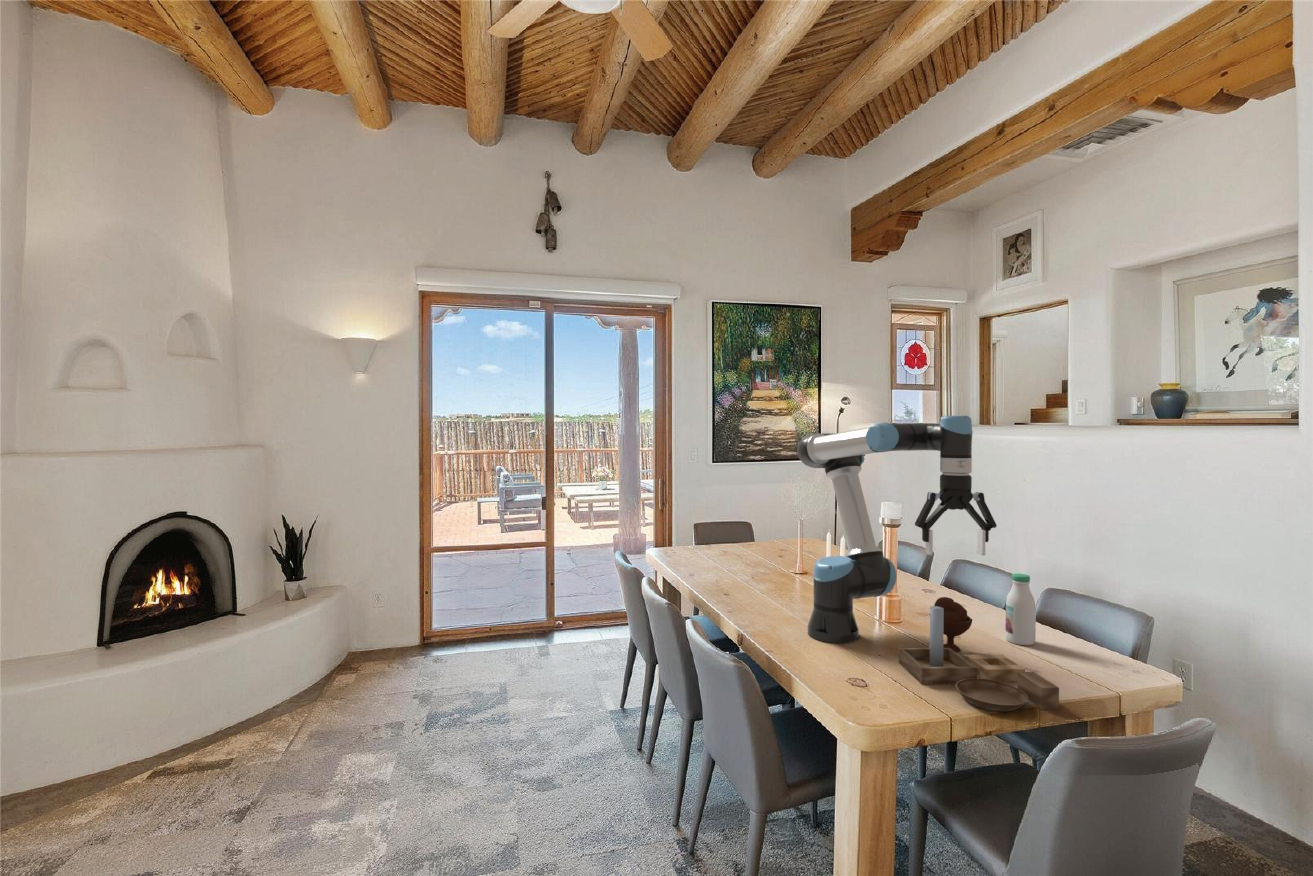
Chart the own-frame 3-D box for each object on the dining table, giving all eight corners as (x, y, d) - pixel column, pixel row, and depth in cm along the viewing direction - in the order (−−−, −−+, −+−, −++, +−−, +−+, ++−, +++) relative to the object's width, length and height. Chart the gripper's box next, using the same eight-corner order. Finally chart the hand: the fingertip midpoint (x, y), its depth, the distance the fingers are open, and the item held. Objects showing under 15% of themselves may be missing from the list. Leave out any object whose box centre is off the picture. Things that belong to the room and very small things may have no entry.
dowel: (933, 671, 159) (933, 609, 158) (927, 666, 162) (927, 606, 161) (945, 671, 159) (945, 609, 158) (939, 666, 162) (939, 606, 162)
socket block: (985, 681, 155) (986, 669, 155) (965, 665, 165) (965, 654, 165) (1025, 681, 155) (1025, 669, 155) (1002, 665, 165) (1002, 654, 165)
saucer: (953, 684, 154) (953, 673, 154) (1021, 694, 148) (1021, 682, 148) (958, 710, 140) (958, 698, 140) (1033, 721, 134) (1033, 709, 134)
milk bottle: (1038, 641, 184) (1038, 574, 183) (1032, 648, 178) (1032, 579, 178) (1009, 635, 189) (1009, 570, 188) (1002, 641, 183) (1002, 575, 183)
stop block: (1041, 709, 140) (1041, 687, 139) (1017, 692, 149) (1017, 671, 148) (1058, 709, 140) (1058, 687, 140) (1033, 692, 149) (1033, 671, 149)
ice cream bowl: (955, 659, 170) (955, 605, 169) (921, 646, 180) (921, 595, 179) (980, 652, 174) (980, 600, 174) (945, 640, 184) (946, 590, 184)
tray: (921, 684, 153) (921, 668, 153) (898, 662, 167) (898, 648, 167) (977, 684, 153) (977, 668, 153) (949, 662, 167) (949, 647, 167)
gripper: (913, 475, 159) (912, 557, 159) (1011, 475, 158) (1010, 557, 158) (902, 472, 166) (902, 551, 167) (996, 473, 166) (995, 551, 166)
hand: (955, 554), depth 163 cm, fingers open, 13 cm apart
